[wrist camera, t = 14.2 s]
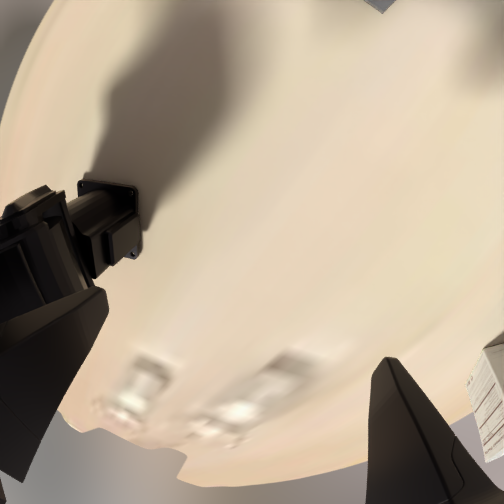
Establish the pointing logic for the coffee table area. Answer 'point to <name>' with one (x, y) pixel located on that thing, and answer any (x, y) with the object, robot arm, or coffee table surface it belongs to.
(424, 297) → the coffee table surface
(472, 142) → the coffee table surface
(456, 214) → the coffee table surface
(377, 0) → the holder
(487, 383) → the supplement box
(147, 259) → the coffee table surface
